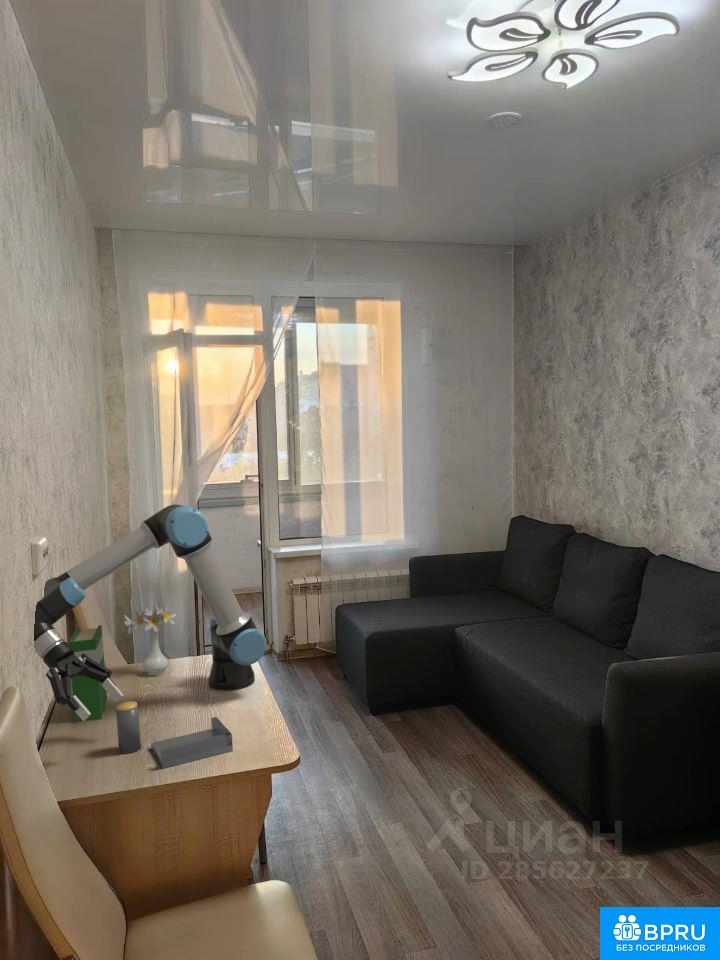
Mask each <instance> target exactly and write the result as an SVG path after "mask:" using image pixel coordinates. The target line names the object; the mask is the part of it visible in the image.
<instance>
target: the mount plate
mask: <svg viewBox="0 0 720 960" xmlns="http://www.w3.org/2000/svg"><path fill="white" fill-rule="evenodd" d="M210 720H211V721H210V722H211V728H210V729H205V730H202V731H197V732H196V731H195V732H191V733H188V734H185V735H184V734H183V735H180V736H175V737H172V738H166V739H163V740H158V741H154V742H150V746H151V747H150V748H151V751H152V752H153V754H154V755H155V757H156V759H157V761H158V763H159V765H160V766H161V768H162V769H167V768H170V767H174V766H179V765H183V764H186V763H191V762H194V761H199V760H204V759H206V758H210V757H215V756H220V755H222V754H226V753H231V752H233V751H234V749H233V748H234V746H233V734H232V732H230V730H229V728H227V727H226V726H225V725H224V723H223V722H222V721H221V720H220V719H219V718H218V717H217V716H214V717H211V719H210Z"/></svg>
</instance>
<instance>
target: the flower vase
mask: <svg viewBox="0 0 720 960" xmlns="http://www.w3.org/2000/svg"><path fill="white" fill-rule="evenodd" d="M152 609H153V610H149V607H147V608H146V609H145V611H142V612H141V613H140V612H139V611H138V610H136V611H135V613H134V614H135V615H134V616H135V619H130V618H129V617H128V616H127V615H126V614H124V618H125V621H124V625H125V626H126V627H128V635H130V634H131V633H132V632H133V627H134V631H135V632H136V631H138V629H140V626H144V625H145V624H146V625H145V627H144V630H145V631H146V632H148V634H149V652H148V654H147V657H146V658H145V659H144V661H143V663H142V668H143V670H144V671H145V672H147V675H148V676H150V677H156V676H161V675H163V674H165V672H166V670H167V669H168V667H169V664H170V661H169V659H168V657H166V656H165V655H164V654H163V653H162V651H161V647H160V644H159V642H160V641H159V633H158V632H160V626H159V625H160V624H163V623H168V622H169V623H170V624H172V625H175V624H176V623H175V621H174V618H175V617H176V616H177V613H176V612H170V609H171V608H170V606H169V605H166V606H165V605H164V606H162V607H161V608H159V607H158V605H155V604H154V605H153V606H152Z"/></svg>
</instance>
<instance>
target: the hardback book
mask: <svg viewBox="0 0 720 960" xmlns="http://www.w3.org/2000/svg"><path fill="white" fill-rule="evenodd" d="M68 644H69V645H70V646H71V647H72V648H73V650H74V655H75V656H76V657H78V658H79V657H80V656H81V655H82V654H83V653H85V654H86V655H87V656H88V657H89V658H90V659H92V660H94V661H95V662H97V663H99V664H100V665H102V666H104V667H105V666H106V664H105V663H106V662H105V653H104V652H105V651H104V650H105V649H104V639H103V625H101V624H100V625H98V626H97V627H95V628H88V629H86V628H85V629H81V627H76V629H75V631H74V632H73V634H72V636H71V638H70V639H69V641H68ZM81 668H82V667H81ZM105 668H106V667H105ZM102 678H103V677H102ZM102 684H103V683H102V682H99V681H96V680H94V679H91V678H88V677H86V676H83V675H82V676H79V675H78V676H76V677H73V678H72V679H71V690H72V697H73V696H74V695H75V696H76V697H77V698H78V699H79V700H80V701H81V703H82V704H83V705H84V706H85V707H86V708H87V710H88V711H89V712H90V713H91V714H90V716H89V717H88V718H87V719H86V720H85V721H83V720H82V719H81V718H80V717H79V716H78V714H77V713H76V712H75V711H73V715H74V723H80V722H81V723H82V722H88V721H96V720H103V719H102V718H103V714H104V712H105V711H104V710H105V708H106V704H107V701H108V692H107V691H106V690H105V689H104V688H103V686H102Z"/></svg>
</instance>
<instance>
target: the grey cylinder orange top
mask: <svg viewBox="0 0 720 960" xmlns="http://www.w3.org/2000/svg"><path fill="white" fill-rule="evenodd" d="M115 716H116V728H117V729H116V730H117V741H118V742H117V743H118V752H119V753H120V754H124V755H125V754H126V755H127V754H128V755H129V754H133V753H137V752H138V751H140V750H141V748H142V745H141V744H142V743H141V742H142V741H141V731H140V729H141V728H140V714H139V706H138V703H137V701H123V702H121V703H119V704H117V705H116V709H115Z"/></svg>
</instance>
